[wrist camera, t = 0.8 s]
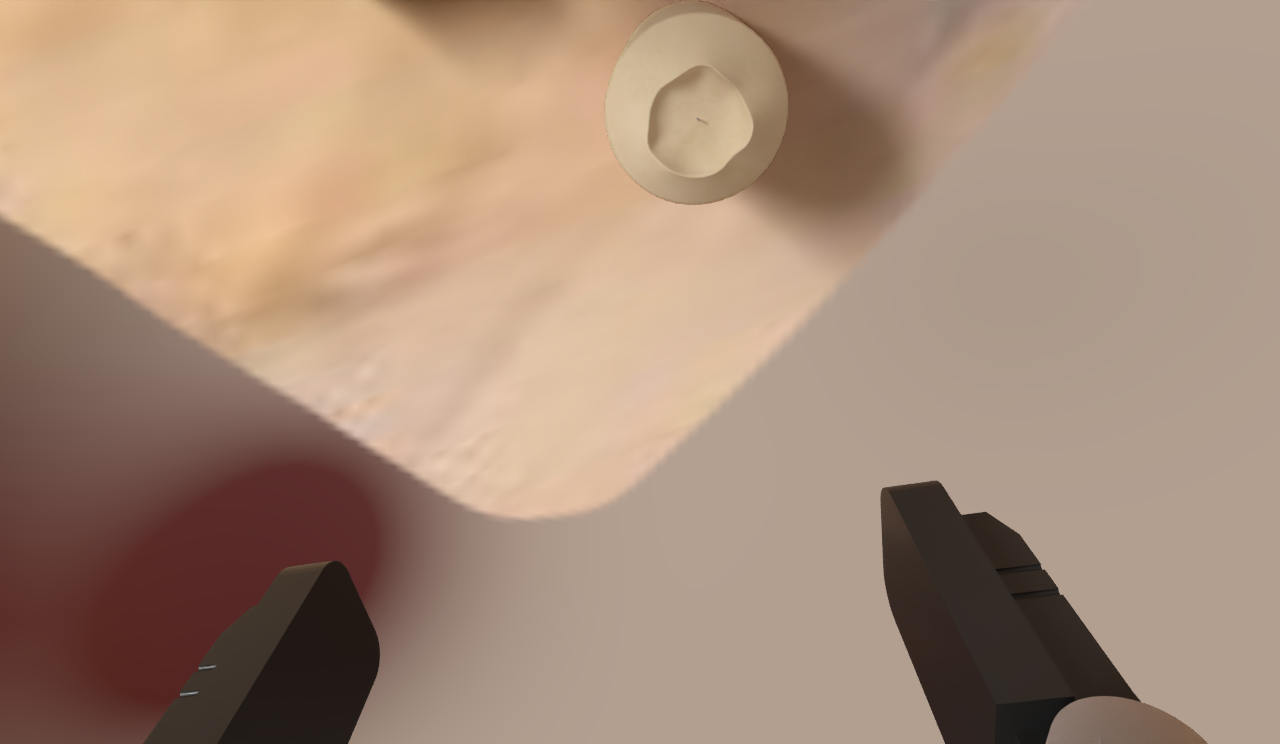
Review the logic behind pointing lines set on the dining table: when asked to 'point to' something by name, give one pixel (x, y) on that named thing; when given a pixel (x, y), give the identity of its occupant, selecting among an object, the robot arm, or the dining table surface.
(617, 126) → the candle
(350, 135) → the dining table surface
